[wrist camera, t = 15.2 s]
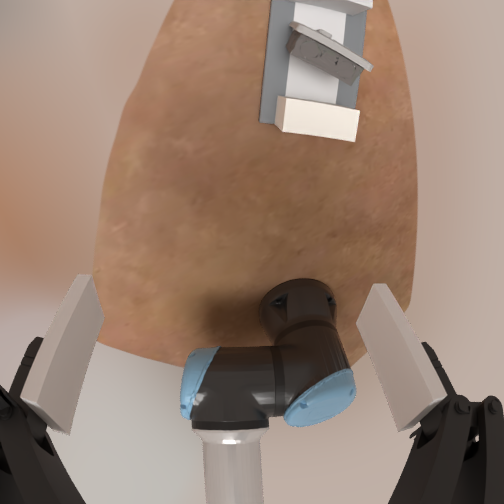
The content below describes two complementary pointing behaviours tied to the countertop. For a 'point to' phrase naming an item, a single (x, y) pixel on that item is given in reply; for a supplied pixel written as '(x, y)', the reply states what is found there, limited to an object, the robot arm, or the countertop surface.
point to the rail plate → (311, 70)
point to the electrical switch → (326, 53)
